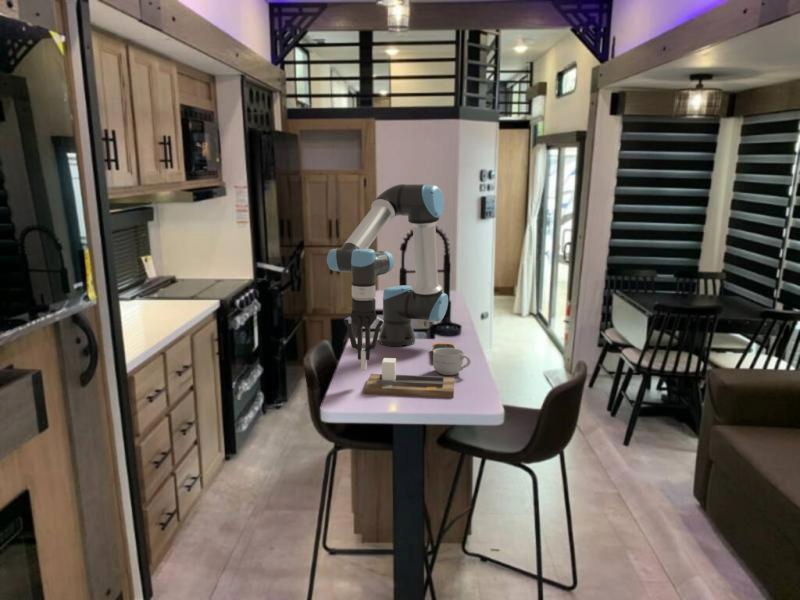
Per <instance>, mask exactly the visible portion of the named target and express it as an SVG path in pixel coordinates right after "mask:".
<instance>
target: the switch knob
mask: <svg viewBox="0 0 800 600" xmlns="http://www.w3.org/2000/svg"><path fill="white" fill-rule="evenodd" d="M381 370H382V371H381V374H382V380H385V381H395V380H396V375H397V358H394V357H393V358H392V357H383V359H382V362H381Z"/></svg>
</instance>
